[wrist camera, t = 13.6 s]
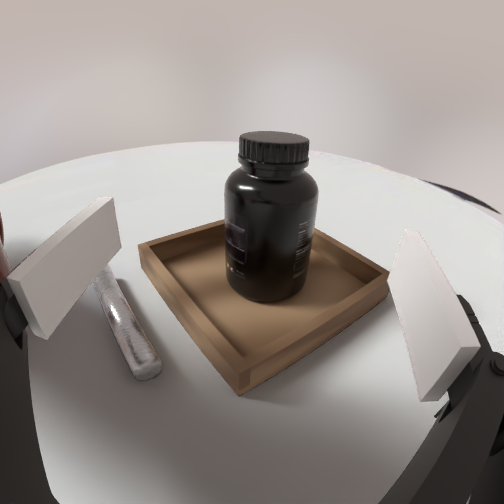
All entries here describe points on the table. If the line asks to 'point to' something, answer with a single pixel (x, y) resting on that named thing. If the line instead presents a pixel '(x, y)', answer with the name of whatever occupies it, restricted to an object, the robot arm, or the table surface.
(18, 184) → the table surface
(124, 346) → the pin
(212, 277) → the tray
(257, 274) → the supplement bottle
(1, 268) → the mug
